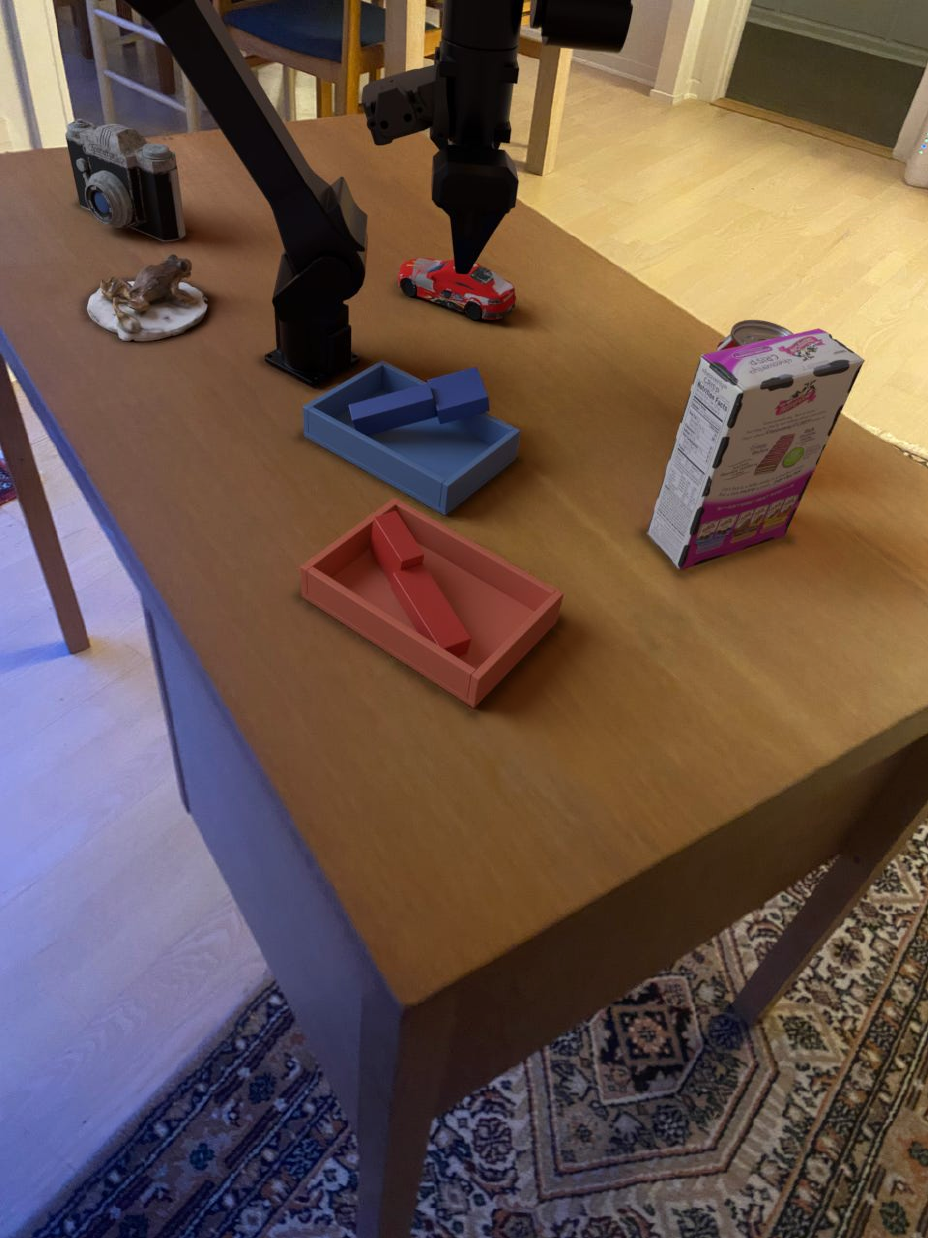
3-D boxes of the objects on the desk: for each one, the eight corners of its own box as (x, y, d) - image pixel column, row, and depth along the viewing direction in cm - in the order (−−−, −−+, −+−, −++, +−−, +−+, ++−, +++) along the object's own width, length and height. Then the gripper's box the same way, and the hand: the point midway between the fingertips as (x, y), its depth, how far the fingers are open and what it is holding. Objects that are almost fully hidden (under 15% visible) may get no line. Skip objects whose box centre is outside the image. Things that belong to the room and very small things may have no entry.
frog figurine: (158, 266, 94) (152, 230, 91) (235, 311, 89) (231, 274, 87) (60, 301, 87) (51, 263, 85) (138, 351, 83) (130, 312, 80)
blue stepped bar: (360, 446, 76) (354, 428, 74) (351, 415, 77) (345, 396, 75) (490, 411, 76) (487, 391, 74) (478, 380, 78) (476, 360, 76)
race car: (387, 290, 95) (388, 253, 93) (414, 271, 99) (416, 235, 96) (495, 330, 92) (500, 293, 89) (519, 310, 95) (525, 273, 92)
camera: (51, 211, 100) (28, 114, 93) (98, 194, 104) (79, 99, 97) (149, 254, 96) (133, 155, 88) (194, 233, 100) (182, 137, 92)
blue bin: (303, 436, 76) (302, 406, 74) (380, 388, 83) (381, 359, 80) (445, 516, 71) (448, 486, 69) (516, 459, 77) (521, 430, 75)
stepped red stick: (474, 630, 59) (442, 642, 58) (465, 660, 62) (435, 672, 61) (396, 510, 64) (365, 519, 63) (391, 543, 67) (362, 552, 66)
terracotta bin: (301, 597, 64) (300, 566, 62) (393, 526, 70) (394, 496, 68) (473, 708, 58) (478, 679, 56) (556, 622, 64) (564, 593, 62)
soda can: (758, 489, 78) (810, 366, 69) (680, 473, 78) (723, 349, 69) (756, 444, 82) (805, 324, 74) (683, 430, 83) (723, 308, 74)
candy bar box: (746, 501, 76) (821, 324, 64) (785, 538, 74) (871, 360, 62) (640, 533, 72) (699, 349, 60) (677, 573, 69) (746, 389, 57)
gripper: (373, -7, 71) (369, 195, 83) (364, 67, 59) (361, 293, 70) (512, 8, 72) (489, 205, 84) (533, 84, 60) (502, 304, 71)
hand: (459, 247), depth 77 cm, fingers open, 9 cm apart
